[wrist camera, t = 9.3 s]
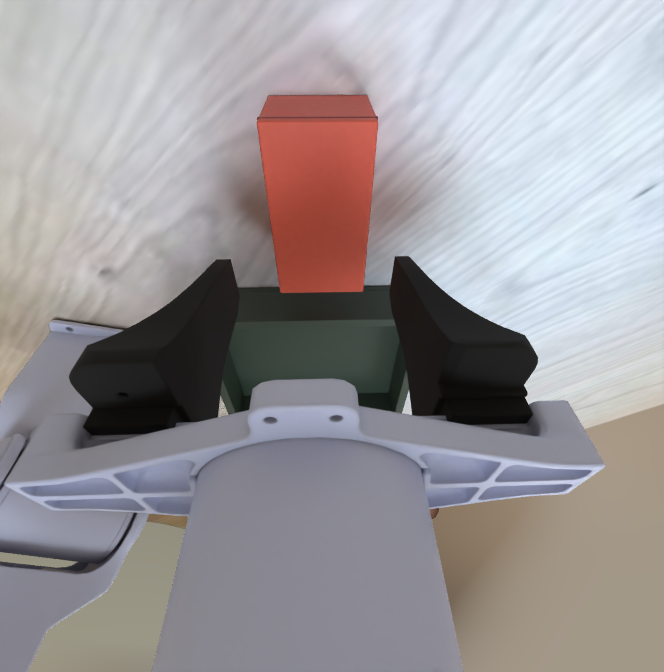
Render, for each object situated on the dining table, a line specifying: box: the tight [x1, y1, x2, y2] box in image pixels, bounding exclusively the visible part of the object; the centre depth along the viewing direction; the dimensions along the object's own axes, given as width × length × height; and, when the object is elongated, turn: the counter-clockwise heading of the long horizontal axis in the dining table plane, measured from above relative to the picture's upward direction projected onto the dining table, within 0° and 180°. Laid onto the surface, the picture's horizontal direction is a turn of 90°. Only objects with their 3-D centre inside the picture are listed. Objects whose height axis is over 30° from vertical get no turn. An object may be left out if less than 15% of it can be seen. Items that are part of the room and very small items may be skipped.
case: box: [257, 95, 378, 293], centre depth 19 cm, size 5×9×4 cm, turn 0°
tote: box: [220, 286, 409, 415], centre depth 30 cm, size 16×14×4 cm
